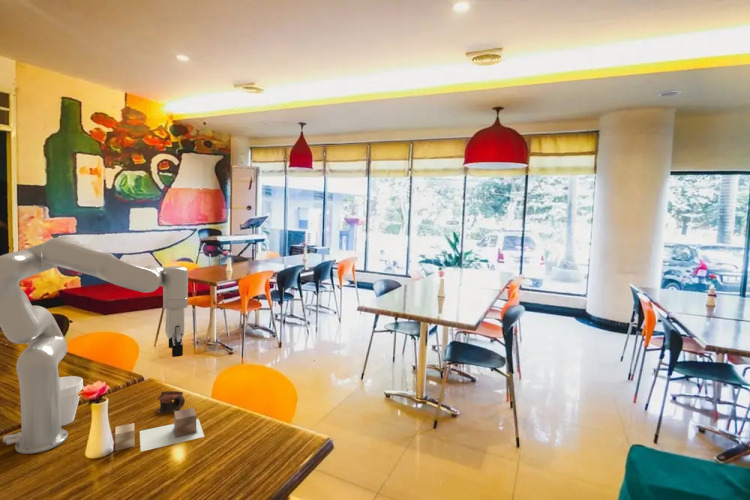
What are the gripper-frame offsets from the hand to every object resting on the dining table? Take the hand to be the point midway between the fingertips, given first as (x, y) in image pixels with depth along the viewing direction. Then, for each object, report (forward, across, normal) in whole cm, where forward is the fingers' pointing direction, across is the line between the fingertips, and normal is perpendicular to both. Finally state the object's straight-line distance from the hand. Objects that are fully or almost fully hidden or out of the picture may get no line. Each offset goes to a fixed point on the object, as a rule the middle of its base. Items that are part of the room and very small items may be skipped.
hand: (175, 351), depth 138 cm
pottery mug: (+26, -10, 0) cm, 28 cm away
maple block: (+26, +9, -15) cm, 31 cm away
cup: (+26, -18, -33) cm, 46 cm away
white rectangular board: (+25, +9, -2) cm, 27 cm away
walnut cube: (+24, +9, +2) cm, 26 cm away
